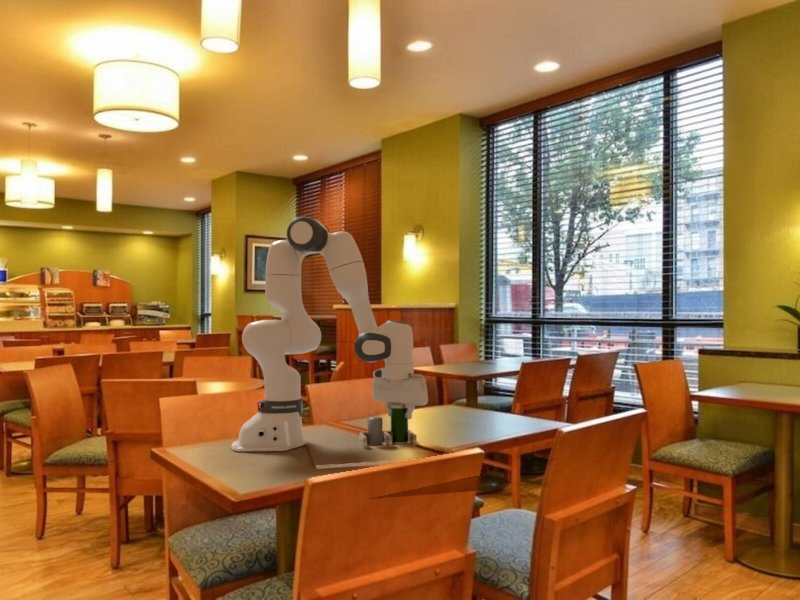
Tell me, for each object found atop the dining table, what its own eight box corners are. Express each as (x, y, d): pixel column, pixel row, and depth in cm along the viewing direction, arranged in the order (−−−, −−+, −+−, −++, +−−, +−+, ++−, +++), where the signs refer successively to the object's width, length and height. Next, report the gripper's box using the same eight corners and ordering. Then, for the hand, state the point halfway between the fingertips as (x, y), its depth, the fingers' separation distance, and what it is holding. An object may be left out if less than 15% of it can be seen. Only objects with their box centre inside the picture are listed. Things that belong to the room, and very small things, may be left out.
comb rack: (363, 451, 176) (363, 438, 176) (358, 445, 185) (358, 432, 185) (416, 448, 180) (416, 435, 180) (409, 442, 188) (409, 429, 189)
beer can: (395, 445, 179) (394, 405, 180) (388, 442, 184) (387, 403, 184) (411, 443, 181) (410, 404, 182) (403, 440, 186) (403, 402, 187)
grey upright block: (368, 446, 179) (368, 419, 179) (366, 443, 183) (366, 416, 183) (383, 445, 180) (383, 418, 180) (380, 442, 184) (380, 416, 184)
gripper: (432, 373, 179) (432, 419, 179) (382, 370, 193) (383, 413, 192) (418, 375, 174) (419, 422, 174) (368, 371, 188) (369, 415, 188)
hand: (399, 417), depth 183 cm, fingers open, 5 cm apart
